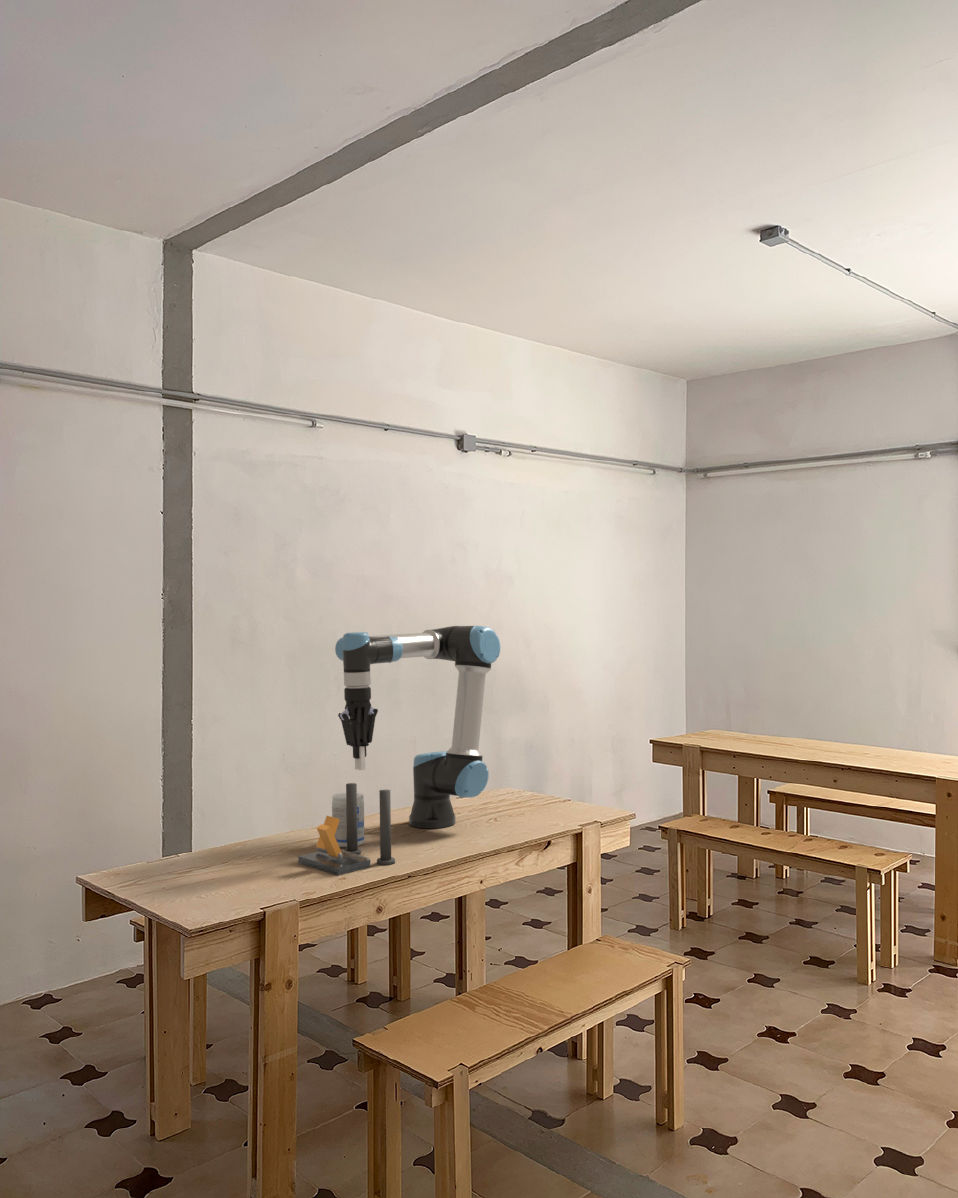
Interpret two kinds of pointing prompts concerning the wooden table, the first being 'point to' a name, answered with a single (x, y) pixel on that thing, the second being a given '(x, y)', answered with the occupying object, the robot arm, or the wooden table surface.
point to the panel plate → (335, 862)
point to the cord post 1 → (351, 818)
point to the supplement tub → (340, 813)
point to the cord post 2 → (385, 829)
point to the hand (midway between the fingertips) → (360, 769)
